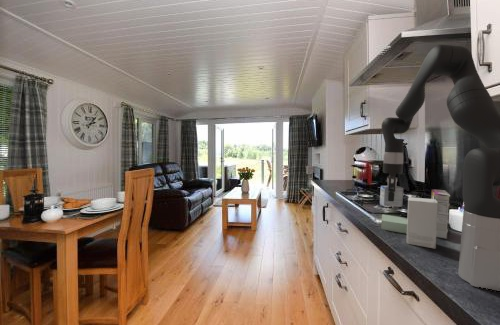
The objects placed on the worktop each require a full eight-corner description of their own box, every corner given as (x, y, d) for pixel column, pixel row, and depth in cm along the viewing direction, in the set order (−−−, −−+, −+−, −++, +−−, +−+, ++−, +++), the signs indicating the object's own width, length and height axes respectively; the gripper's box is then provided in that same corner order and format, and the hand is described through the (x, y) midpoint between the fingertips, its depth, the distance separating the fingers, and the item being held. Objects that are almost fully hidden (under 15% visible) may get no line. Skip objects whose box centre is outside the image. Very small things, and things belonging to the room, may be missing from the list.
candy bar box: (428, 228, 98) (431, 188, 97) (443, 230, 96) (446, 190, 94) (430, 236, 89) (434, 193, 88) (448, 239, 86) (451, 195, 85)
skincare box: (434, 243, 83) (437, 199, 82) (435, 250, 77) (439, 203, 76) (405, 237, 87) (408, 196, 86) (405, 243, 82) (408, 199, 81)
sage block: (410, 235, 91) (411, 224, 91) (381, 230, 96) (381, 220, 96) (408, 227, 100) (409, 218, 99) (381, 223, 105) (382, 214, 105)
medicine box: (397, 204, 109) (398, 186, 109) (402, 207, 105) (403, 187, 104) (379, 204, 110) (380, 185, 110) (383, 206, 106) (384, 186, 105)
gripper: (403, 163, 98) (401, 204, 99) (402, 162, 111) (400, 198, 112) (383, 162, 102) (381, 201, 103) (383, 161, 115) (381, 196, 116)
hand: (390, 199), depth 107 cm, fingers closed on medicine box, 5 cm apart
